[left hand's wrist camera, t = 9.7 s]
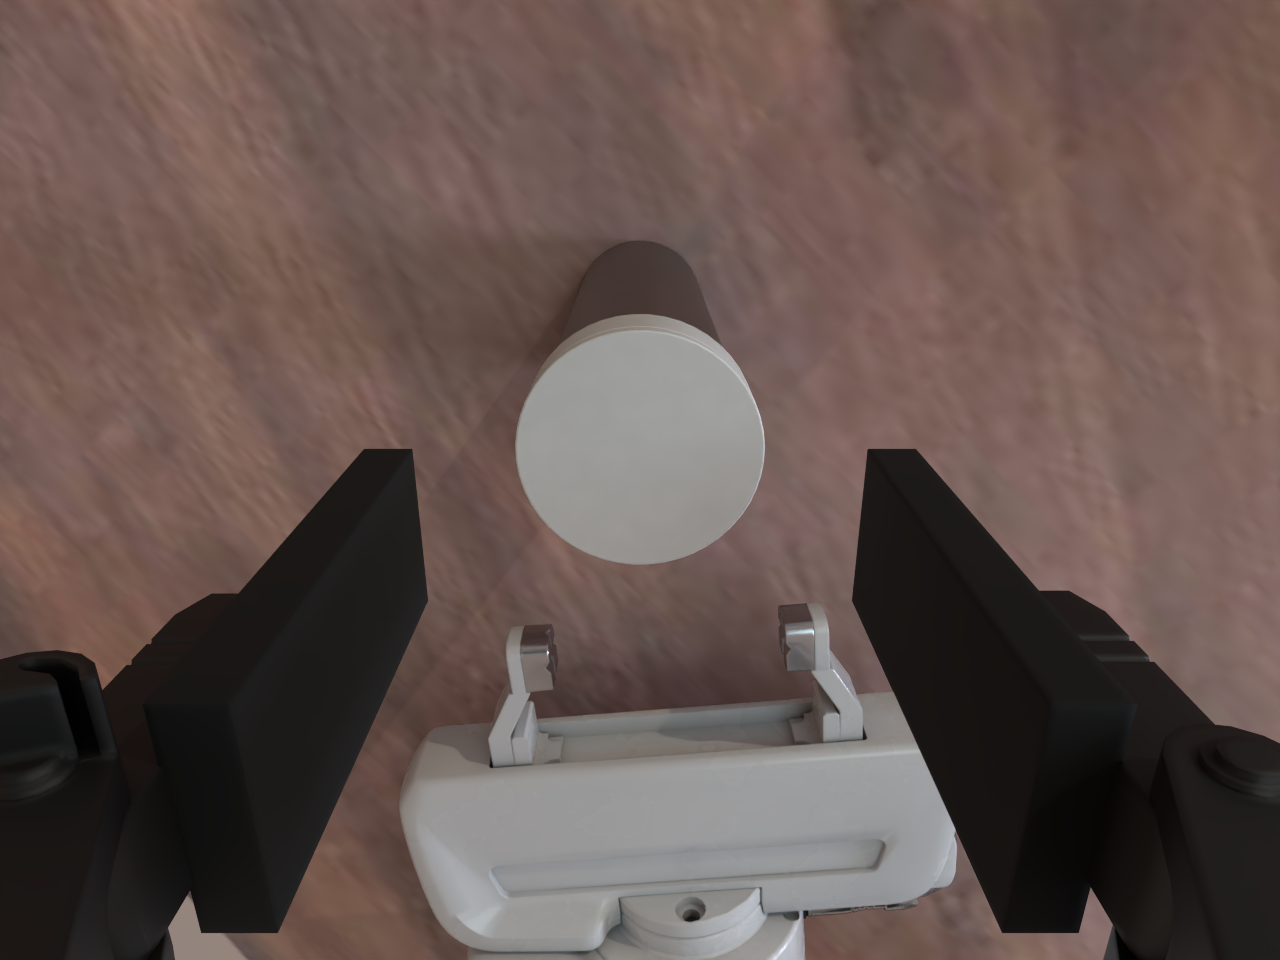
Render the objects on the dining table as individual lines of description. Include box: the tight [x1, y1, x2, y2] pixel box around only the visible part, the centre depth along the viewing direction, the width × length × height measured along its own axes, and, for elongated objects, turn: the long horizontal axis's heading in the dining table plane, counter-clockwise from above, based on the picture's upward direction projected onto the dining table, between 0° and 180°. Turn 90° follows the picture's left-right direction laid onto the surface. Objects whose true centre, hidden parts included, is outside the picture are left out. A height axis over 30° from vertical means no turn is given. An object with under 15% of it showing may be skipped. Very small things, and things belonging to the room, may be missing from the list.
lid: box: [515, 314, 765, 565], centre depth 18 cm, size 5×5×2 cm
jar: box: [558, 241, 722, 346], centre depth 25 cm, size 4×4×16 cm
